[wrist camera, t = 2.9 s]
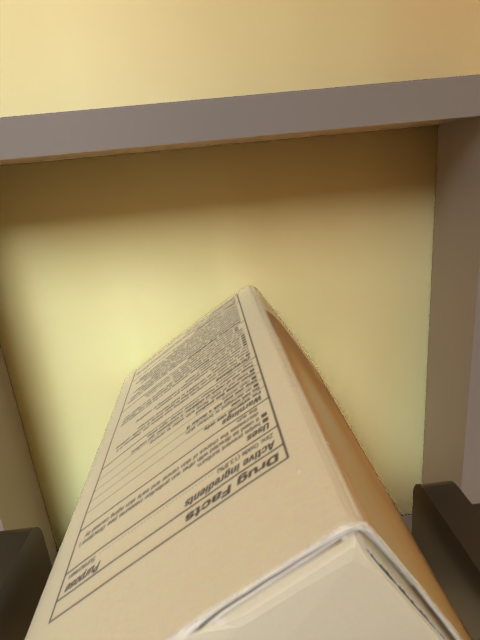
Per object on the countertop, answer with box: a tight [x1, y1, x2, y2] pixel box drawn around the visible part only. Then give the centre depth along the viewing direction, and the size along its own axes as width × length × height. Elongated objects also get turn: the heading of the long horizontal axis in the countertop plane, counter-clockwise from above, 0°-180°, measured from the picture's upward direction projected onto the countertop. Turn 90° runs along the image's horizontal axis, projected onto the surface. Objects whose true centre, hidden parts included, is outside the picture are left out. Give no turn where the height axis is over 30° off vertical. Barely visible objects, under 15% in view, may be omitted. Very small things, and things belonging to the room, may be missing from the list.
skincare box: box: [25, 286, 472, 640], centre depth 12 cm, size 6×4×12 cm
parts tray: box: [0, 75, 480, 567], centre depth 16 cm, size 18×18×3 cm
